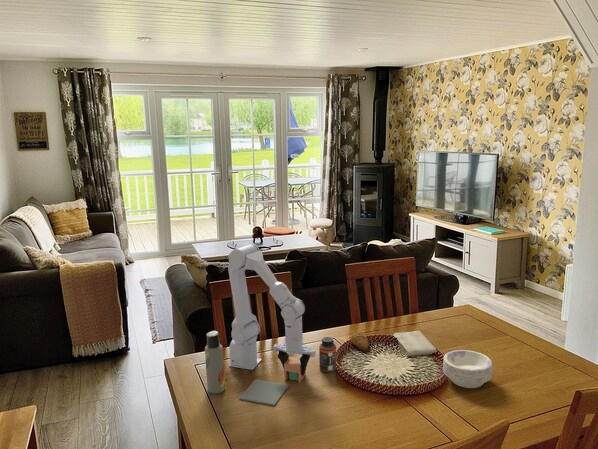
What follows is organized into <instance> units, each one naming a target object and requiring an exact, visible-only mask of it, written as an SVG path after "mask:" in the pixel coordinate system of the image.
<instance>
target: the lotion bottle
mask: <svg viewBox="0 0 598 449" xmlns="http://www.w3.org/2000/svg"><path fill="white" fill-rule="evenodd" d="M206 341H207V342H206V346H205V347H204V355H205V356H204V357H205V369H206V372H205V373H206V387H207V392H208V393H209V394H213V395H215V394H221V393H222V392H224V390H225V389H226V379H225V365H224V364H225V363H224V350H223V349H224V346H223V345H222V344H221V343H220V333H219V332H218V331H217V330H211V331H209V332H207V333H206Z"/></svg>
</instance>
